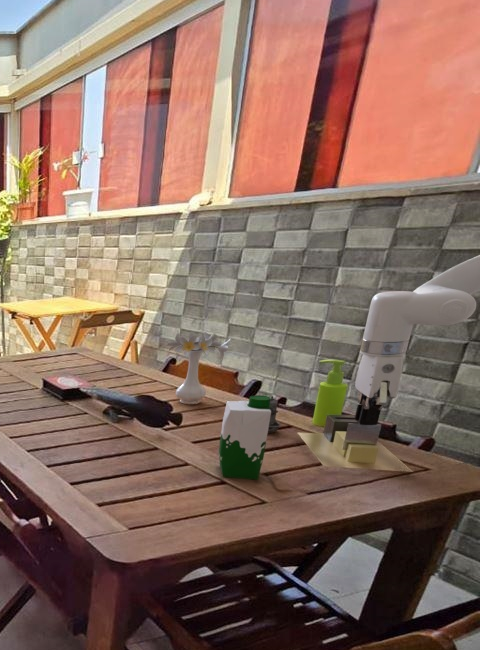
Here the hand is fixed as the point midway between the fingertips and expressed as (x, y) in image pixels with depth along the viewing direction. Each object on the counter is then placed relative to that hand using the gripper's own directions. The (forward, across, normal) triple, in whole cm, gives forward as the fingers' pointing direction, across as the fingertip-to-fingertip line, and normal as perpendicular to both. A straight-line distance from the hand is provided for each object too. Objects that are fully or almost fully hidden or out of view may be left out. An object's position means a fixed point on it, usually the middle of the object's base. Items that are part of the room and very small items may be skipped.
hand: (365, 421), depth 119 cm
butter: (+10, +5, 0) cm, 11 cm away
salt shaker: (+11, +18, +15) cm, 26 cm away
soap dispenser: (+11, +27, 0) cm, 29 cm away
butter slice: (+10, -2, 0) cm, 10 cm away
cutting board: (+11, +6, 0) cm, 12 cm away
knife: (+8, 0, 0) cm, 8 cm away
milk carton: (+11, -11, +26) cm, 30 cm away
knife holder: (+10, +14, -2) cm, 17 cm away
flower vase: (+11, +50, +31) cm, 60 cm away
